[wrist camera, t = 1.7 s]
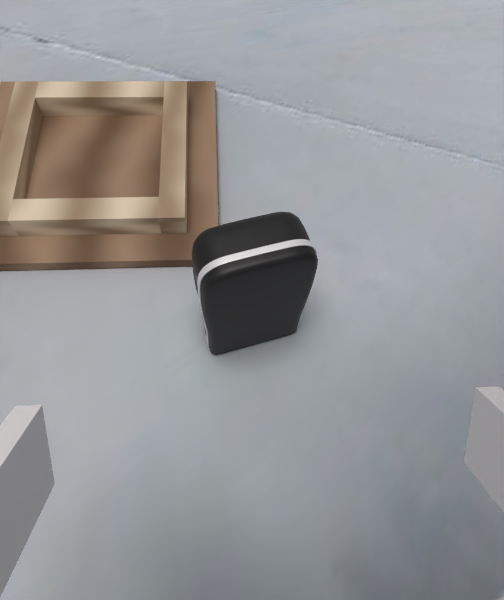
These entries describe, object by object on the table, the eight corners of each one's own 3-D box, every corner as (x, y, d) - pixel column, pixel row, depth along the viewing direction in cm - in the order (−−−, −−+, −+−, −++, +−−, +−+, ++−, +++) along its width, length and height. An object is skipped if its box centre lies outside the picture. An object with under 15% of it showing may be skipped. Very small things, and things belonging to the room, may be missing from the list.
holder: (215, 90, 47) (214, 62, 44) (219, 265, 38) (218, 244, 35) (5, 90, 45) (-9, 62, 43) (-42, 271, 36) (-64, 250, 34)
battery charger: (283, 289, 37) (303, 193, 27) (300, 333, 35) (327, 248, 25) (195, 312, 36) (181, 221, 25) (208, 358, 34) (198, 281, 24)
